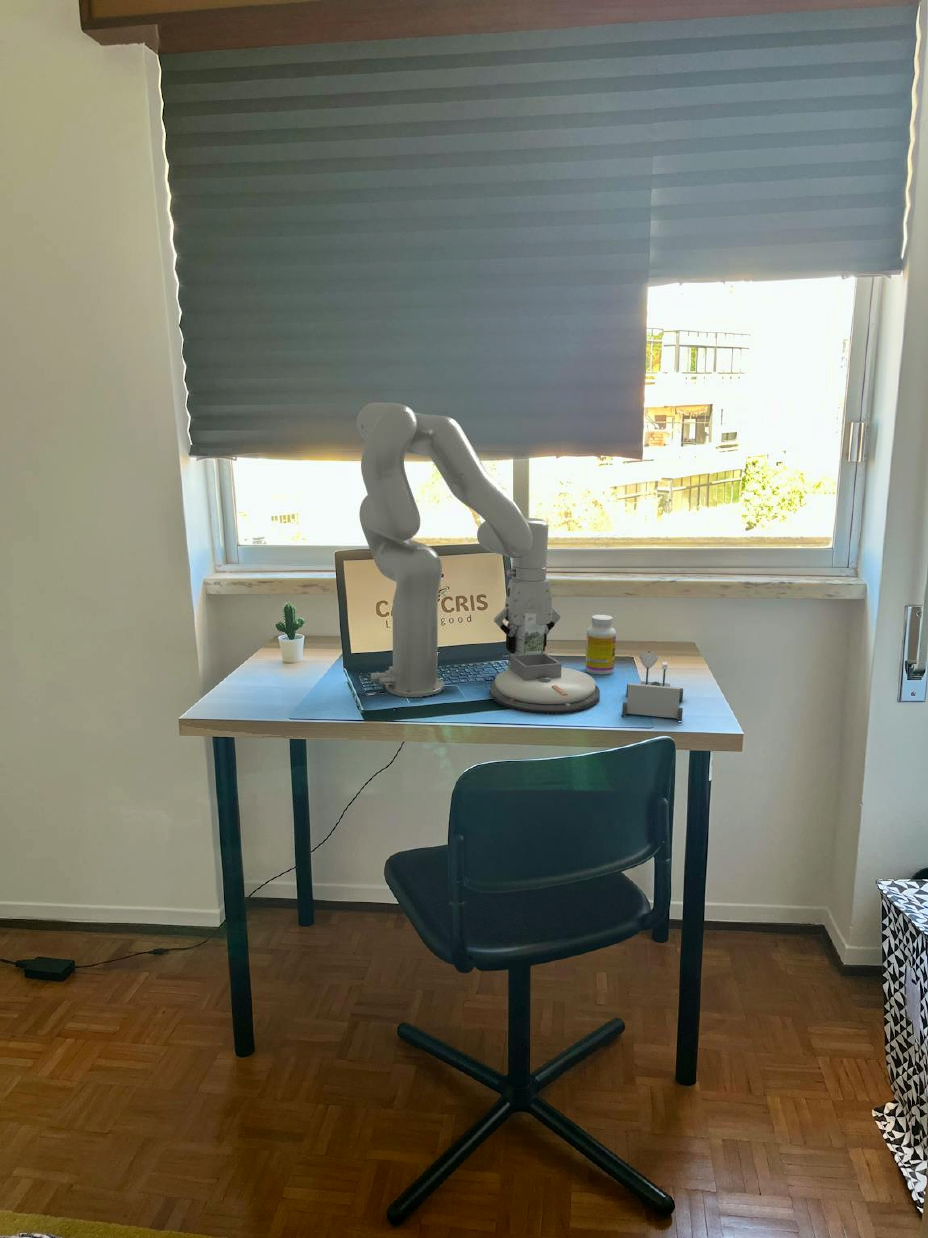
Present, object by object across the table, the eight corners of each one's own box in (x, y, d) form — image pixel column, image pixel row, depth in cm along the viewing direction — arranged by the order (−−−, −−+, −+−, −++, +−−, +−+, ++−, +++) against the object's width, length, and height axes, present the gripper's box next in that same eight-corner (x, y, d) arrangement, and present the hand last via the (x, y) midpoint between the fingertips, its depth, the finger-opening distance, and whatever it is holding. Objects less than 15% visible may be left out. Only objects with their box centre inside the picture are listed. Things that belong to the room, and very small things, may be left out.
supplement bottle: (615, 676, 205) (619, 621, 202) (586, 675, 205) (589, 620, 202) (611, 667, 212) (614, 613, 208) (583, 666, 212) (586, 613, 208)
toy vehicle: (630, 647, 194) (686, 652, 191) (627, 691, 196) (682, 696, 194) (624, 672, 177) (685, 677, 174) (621, 719, 179) (681, 725, 177)
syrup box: (527, 665, 212) (530, 604, 208) (542, 672, 207) (545, 610, 203) (507, 668, 208) (509, 607, 205) (522, 675, 204) (525, 612, 200)
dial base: (514, 719, 177) (514, 710, 177) (475, 683, 198) (475, 675, 198) (619, 707, 184) (619, 699, 184) (570, 674, 206) (571, 666, 205)
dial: (612, 698, 185) (614, 677, 183) (517, 708, 178) (518, 686, 177) (568, 668, 204) (569, 649, 203) (481, 676, 197) (481, 657, 196)
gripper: (499, 579, 196) (496, 658, 200) (571, 575, 202) (567, 653, 206) (487, 572, 203) (484, 649, 207) (557, 569, 208) (553, 644, 213)
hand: (525, 650), depth 206 cm, fingers closed on syrup box, 6 cm apart
